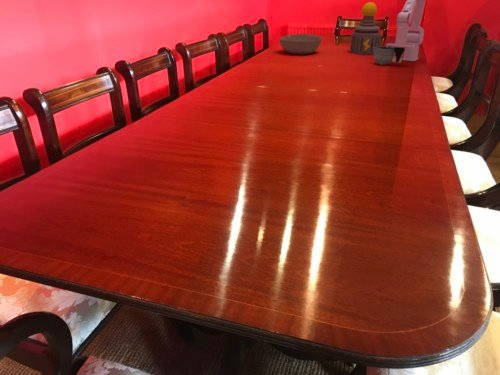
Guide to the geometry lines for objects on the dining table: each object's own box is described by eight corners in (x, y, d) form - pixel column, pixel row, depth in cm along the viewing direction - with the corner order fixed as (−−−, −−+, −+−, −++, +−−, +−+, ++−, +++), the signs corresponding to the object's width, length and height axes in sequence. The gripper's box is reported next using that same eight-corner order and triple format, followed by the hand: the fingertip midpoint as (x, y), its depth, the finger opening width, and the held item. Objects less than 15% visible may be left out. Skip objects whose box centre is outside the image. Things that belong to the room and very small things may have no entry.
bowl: (299, 48, 278) (300, 33, 273) (329, 52, 259) (331, 36, 254) (270, 52, 262) (270, 36, 258) (300, 58, 244) (301, 41, 239)
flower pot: (379, 66, 219) (382, 49, 215) (371, 63, 227) (373, 46, 223) (393, 64, 221) (396, 48, 217) (384, 62, 229) (387, 46, 225)
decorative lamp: (380, 55, 249) (388, 3, 235) (350, 54, 252) (356, 3, 238) (377, 50, 266) (383, 1, 252) (348, 49, 268) (353, 1, 254)
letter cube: (392, 60, 233) (393, 52, 231) (401, 61, 232) (402, 52, 229) (392, 62, 229) (393, 53, 226) (401, 62, 227) (402, 53, 225)
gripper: (386, 36, 213) (382, 61, 220) (413, 37, 206) (409, 64, 213) (389, 34, 219) (386, 59, 225) (417, 36, 211) (412, 62, 218)
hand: (397, 61), depth 219 cm, fingers closed
